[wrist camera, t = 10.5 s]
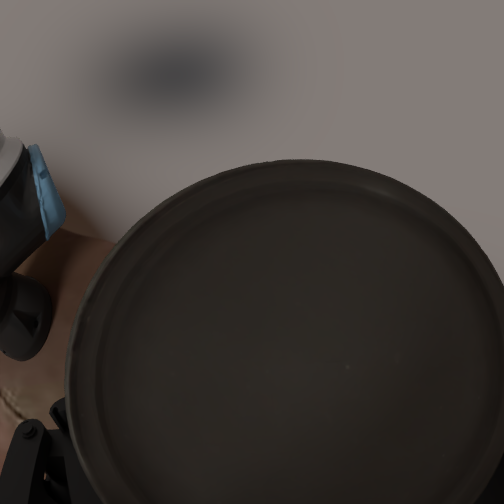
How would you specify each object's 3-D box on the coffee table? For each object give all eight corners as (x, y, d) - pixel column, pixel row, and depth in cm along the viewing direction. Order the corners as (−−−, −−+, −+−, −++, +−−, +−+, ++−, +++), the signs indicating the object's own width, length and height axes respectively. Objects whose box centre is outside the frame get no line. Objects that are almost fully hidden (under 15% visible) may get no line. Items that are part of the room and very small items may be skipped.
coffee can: (323, 305, 19) (397, 138, 7) (374, 431, 14) (550, 423, 2) (185, 347, 18) (64, 216, 6) (228, 483, 12) (155, 612, 1)
